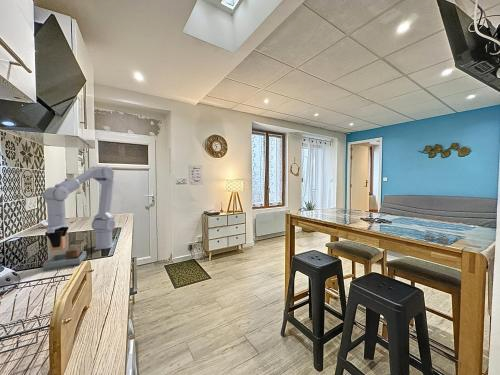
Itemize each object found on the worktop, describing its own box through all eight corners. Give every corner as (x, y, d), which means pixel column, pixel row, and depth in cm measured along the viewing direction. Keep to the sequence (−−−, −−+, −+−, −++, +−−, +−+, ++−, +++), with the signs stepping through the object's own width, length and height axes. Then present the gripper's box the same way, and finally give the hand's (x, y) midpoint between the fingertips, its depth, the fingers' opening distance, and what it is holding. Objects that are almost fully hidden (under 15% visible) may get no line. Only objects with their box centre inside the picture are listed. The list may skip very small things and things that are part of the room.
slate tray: (54, 261, 96) (53, 255, 96) (86, 256, 101) (86, 250, 101) (43, 270, 86) (42, 264, 86) (79, 265, 91) (79, 258, 91)
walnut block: (80, 258, 97) (79, 247, 97) (77, 261, 93) (77, 250, 93) (69, 259, 95) (68, 248, 95) (66, 262, 92) (65, 251, 91)
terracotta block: (65, 246, 95) (65, 235, 94) (62, 249, 91) (62, 238, 91) (54, 248, 93) (53, 237, 93) (50, 251, 89) (49, 239, 89)
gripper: (51, 212, 96) (53, 242, 97) (36, 218, 83) (38, 252, 84) (71, 211, 99) (72, 240, 100) (59, 216, 86) (61, 249, 87)
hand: (58, 245), depth 92 cm, fingers closed on terracotta block, 4 cm apart
